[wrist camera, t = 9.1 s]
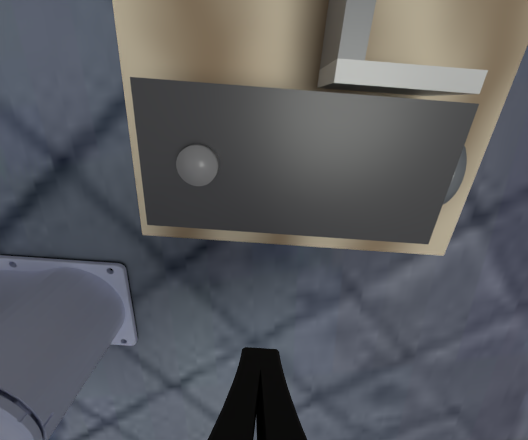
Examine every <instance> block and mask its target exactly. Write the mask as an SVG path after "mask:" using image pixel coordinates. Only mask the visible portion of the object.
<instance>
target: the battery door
mask: <svg viewBox="0 0 528 440" xmlns="http://www.w3.org/2000/svg"><path fill="white" fill-rule="evenodd" d="M375 4H376V0H329V3H328V11H327V18H326V26H325V33H324V40H323V48H322V55H321V63H320V70H319V78H318V85H317V88H325V89H338V90H351V91H364V92H377V93H390V94H403V95H416V96H444V95H469V94H480V91H481V89H482V86H483V83H484V80H485V77H486V75H487V72H488V70H479V69H466V68H454V67H441V66H428V65H416V64H403V63H390V62H377V61H365V56H366V51H367V46H368V41H369V35H370V30H371V25H372V20H373V15H374V9H375Z"/></svg>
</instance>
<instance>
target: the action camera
mask: <svg viewBox="0 0 528 440" xmlns="http://www.w3.org/2000/svg"><path fill="white" fill-rule="evenodd" d="M130 83H131V92H132V100H133V109H134V117H135V126H136V134H137V143H138V151H139V160H140V168H141V177H142V185H143V193H144V202H145V210H146V219H147V225H155V226H169V227H184V228H198V229H213V230H227V231H241V232H256V233H270V234H285V235H299V236H314V237H328V238H343V239H357V240H372V241H386V242H400V243H415V244H429V241H430V238H431V236H432V233H433V230H434V227H435V225H436V222H437V219H438V216H439V214H440V211H441V208H442V205H443V204H445V203H447V202H448V201H449V200H450V199H451V198H452V197H453V196H454V195H455V194H456V192H457V191H458V189H459V187H460V185H461V183H462V181H463V178H464V175H465V171H466V164H467V154H466V148H465V142H466V139H467V136H468V134H469V131H470V128H471V125H472V123H473V120H474V117H475V114H476V112H477V109H478V106H479V104H476V103H463V102H450V101H437V100H424V99H411V98H398V97H385V96H372V95H359V94H346V93H333V92H320V91H307V90H294V89H281V88H268V87H255V86H242V85H229V84H216V83H203V82H190V81H177V80H164V79H151V78H138V77H130Z"/></svg>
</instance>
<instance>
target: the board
mask: <svg viewBox="0 0 528 440" xmlns="http://www.w3.org/2000/svg"><path fill="white" fill-rule="evenodd" d="M112 2H113V10H114V17H115V25H116V33H117V41H118V49H119V56H120V64H121V72H122V80H123V88H124V95H125V103H126V111H127V119H128V127H129V134H130V142H131V150H132V158H133V166H134V173H135V181H136V189H137V197H138V205H139V212H140V220H141V228H142V235H150V236H165V237H180V238H194V239H209V240H223V241H238V242H252V243H267V244H282V245H296V246H311V247H325V248H340V249H354V250H369V251H384V252H398V253H413V254H427V255H442V256H444V254H445V251H446V249H447V246H448V244H449V241H450V239H451V236H452V234H453V231H454V229H455V226H456V224H457V221H458V219H459V216H460V213H461V211H462V208H463V206H464V203H465V201H466V198H467V196H468V193H469V191H470V188H471V186H472V183H473V181H474V178H475V176H476V173H477V171H478V168H479V166H480V163H481V161H482V158H483V156H484V153H485V150H486V148H487V145H488V143H489V140H490V138H491V135H492V133H493V130H494V128H495V125H496V123H497V120H498V118H499V115H500V113H501V110H502V108H503V105H504V103H505V100H506V98H507V95H508V93H509V90H510V87H511V85H512V82H513V80H514V77H515V75H516V72H517V70H518V67H519V65H520V62H521V60H522V57H523V55H524V52H525V50H526V47H527V45H528V0H376V4H375V9H374V15H373V20H372V25H371V30H370V35H369V41H368V46H367V51H366V56H365V61H377V62H390V63H403V64H416V65H428V66H441V67H454V68H466V69H479V70H488V72H487V75H486V77H485V80H484V83H483V86H482V89H481V91H480V94H469V95H444V96H416V95H403V94H390V93H377V92H364V91H351V90H338V89H325V88H317V85H318V78H319V70H320V63H321V55H322V48H323V40H324V33H325V26H326V18H327V11H328V3H329V0H112ZM130 77H138V78H151V79H164V80H177V81H190V82H203V83H216V84H229V85H242V86H255V87H268V88H281V89H294V90H307V91H320V92H333V93H346V94H359V95H372V96H385V97H398V98H411V99H424V100H437V101H450V102H463V103H476V104H479V106H478V109H477V112H476V114H475V117H474V120H473V123H472V125H471V128H470V131H469V134H468V136H467V139H466V142H465V148H466V154H467V164H466V171H465V175H464V178H463V181H462V183H461V185H460V187H459V189H458V191H457V192H456V194H455V195H454V196H453V197H452V198H451V199H450V200H449V201H448V202H447V203H445V204H443V205H442V208H441V211H440V214H439V216H438V219H437V222H436V225H435V227H434V230H433V233H432V236H431V238H430V241H429V244H415V243H400V242H386V241H372V240H357V239H343V238H328V237H314V236H299V235H285V234H270V233H256V232H241V231H227V230H213V229H198V228H184V227H169V226H155V225H147V219H146V210H145V202H144V193H143V185H142V177H141V168H140V160H139V151H138V143H137V134H136V126H135V117H134V109H133V100H132V92H131V83H130Z"/></svg>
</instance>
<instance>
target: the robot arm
mask: <svg viewBox="0 0 528 440" xmlns="http://www.w3.org/2000/svg"><path fill="white" fill-rule="evenodd" d="M110 268H111V269H113V271H112V270H110ZM137 340H138V338H137V332H136V326H135V319H134V313H133V307H132V301H131V295H130V289H129V283H128V277H127V271H126V268H125V266H124V265H122V264H120V263H108V262H93V261H79V260H64V259H49V258H34V257H19V256H4V255H0V440H48V439H49V437H50V436H51V434H52V433H53V431H54V430H55V428H56V426H57V425H58V423H59V422H60V420H61V419H62V417H63V416H64V414H65V413H66V411H67V410H68V408H69V407H70V405H71V404H72V402H73V401H74V399H75V397H76V396H77V394H78V393H79V391H80V390H81V388H82V387H83V385H84V384H85V382H86V381H87V379H88V378H89V376H90V375H91V373H92V371H93V370H94V368H95V367H96V365H97V364H98V362H99V361H100V359H101V358H102V356H103V355H104V353H105V352H106V350H107V349H108V347H109V346H110V344H112V345H128V346H132V345H135V344H136V342H137ZM255 420H256V422H257V440H307V438H306V436H305V433H304V431H303V428H302V426H301V423H300V421H299V418H298V416H297V413H296V410H295V407H294V404H293V402H292V399H291V396H290V393H289V390H288V387H287V383H286V380H285V377H284V373H283V369H282V365H281V360H280V355H279V351H278V350H277V349H264V348H248V347H245V348H243V349H242V353H241V358H240V362H239V366H238V369H237V372H236V375H235V378H234V381H233V383H232V386H231V388H230V391H229V393H228V396H227V398H226V401H225V403H224V406H223V408H222V410H221V412H220V415H219V417H218V419H217V421H216V423H215V425H214V427H213V430H212V432H211V434H210V436H209V438H208V440H253V437H254V429H255Z"/></svg>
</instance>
